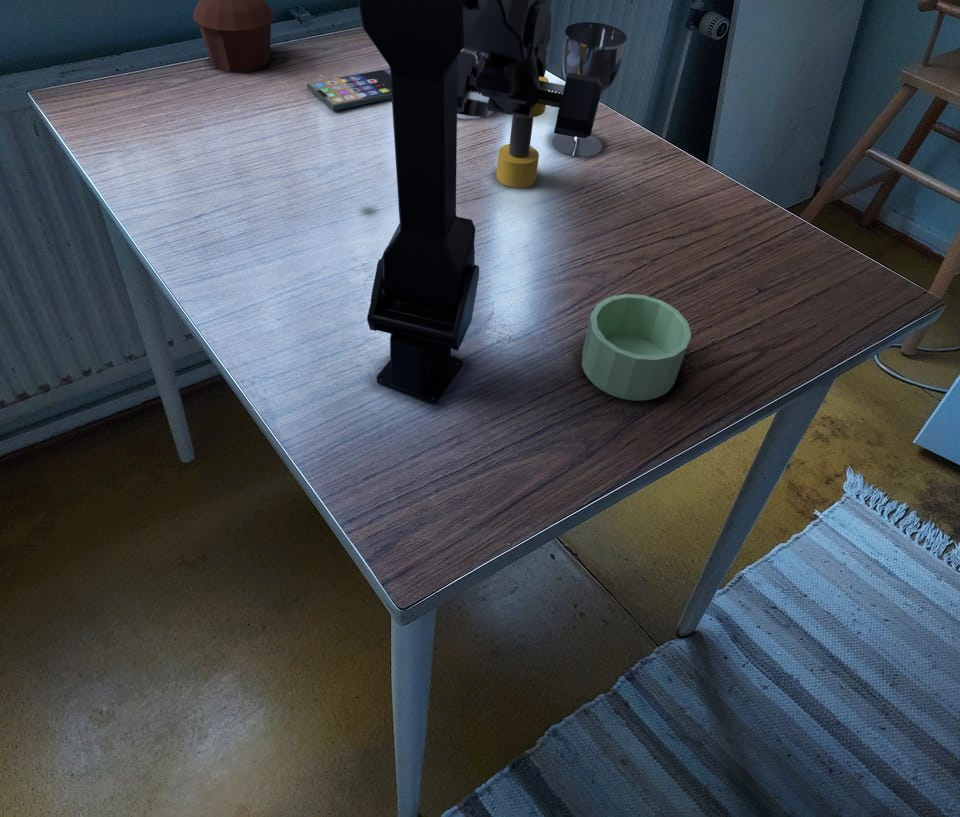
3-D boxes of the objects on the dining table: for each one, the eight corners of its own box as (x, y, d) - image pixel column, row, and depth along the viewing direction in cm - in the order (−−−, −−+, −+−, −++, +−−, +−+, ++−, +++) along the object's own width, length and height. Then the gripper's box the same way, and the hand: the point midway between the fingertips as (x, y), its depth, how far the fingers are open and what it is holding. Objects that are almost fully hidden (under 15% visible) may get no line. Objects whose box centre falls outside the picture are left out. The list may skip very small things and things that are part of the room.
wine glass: (539, 147, 109) (554, 36, 98) (562, 125, 114) (579, 17, 103) (592, 164, 107) (613, 52, 96) (613, 140, 112) (635, 32, 101)
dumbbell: (526, 192, 101) (539, 93, 91) (490, 181, 102) (498, 82, 93) (541, 174, 104) (555, 77, 95) (505, 163, 105) (515, 66, 96)
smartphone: (422, 92, 118) (422, 84, 117) (333, 113, 112) (332, 105, 111) (394, 71, 123) (394, 63, 122) (307, 90, 116) (306, 82, 115)
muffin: (212, 80, 116) (199, 9, 109) (192, 51, 122) (179, -19, 115) (289, 69, 120) (282, -1, 113) (266, 41, 127) (258, -27, 120)
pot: (662, 413, 75) (676, 372, 71) (568, 380, 77) (577, 338, 73) (686, 354, 81) (700, 312, 77) (598, 324, 84) (608, 283, 80)
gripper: (616, 4, 80) (612, 69, 95) (441, -26, 82) (465, 42, 98) (589, 112, 80) (589, 159, 96) (416, 78, 83) (444, 129, 98)
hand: (522, 120), depth 97 cm, fingers open, 9 cm apart
